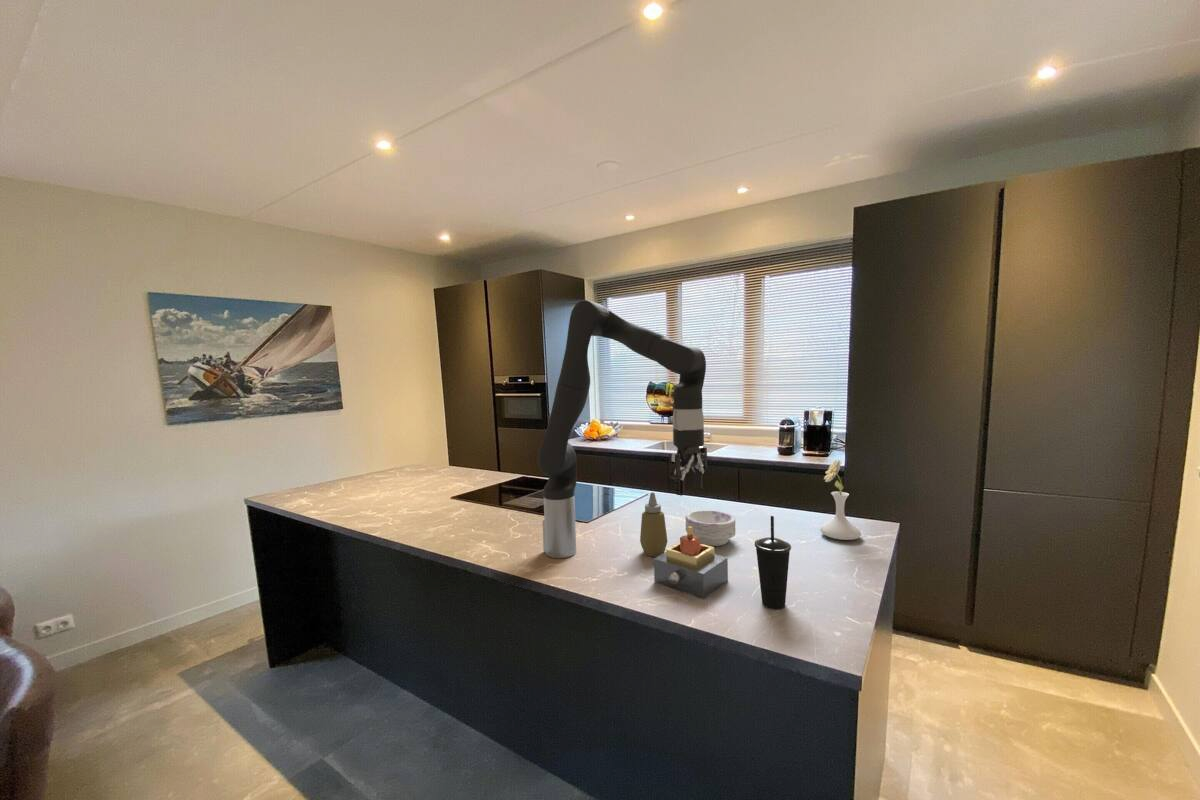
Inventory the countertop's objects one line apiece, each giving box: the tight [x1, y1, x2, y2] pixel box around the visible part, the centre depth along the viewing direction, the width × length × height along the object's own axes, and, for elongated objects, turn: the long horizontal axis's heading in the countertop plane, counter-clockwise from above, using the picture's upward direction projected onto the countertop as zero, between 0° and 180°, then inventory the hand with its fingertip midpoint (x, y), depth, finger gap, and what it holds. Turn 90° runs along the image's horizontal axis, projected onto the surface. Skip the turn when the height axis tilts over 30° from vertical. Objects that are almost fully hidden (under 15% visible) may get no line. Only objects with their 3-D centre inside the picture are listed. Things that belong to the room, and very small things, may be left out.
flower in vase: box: [819, 459, 862, 541], centre depth 138 cm, size 13×11×25 cm
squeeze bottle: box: [639, 492, 668, 557], centre depth 130 cm, size 8×8×18 cm
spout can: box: [679, 526, 701, 556], centre depth 111 cm, size 5×5×13 cm
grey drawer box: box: [653, 542, 729, 600], centre depth 111 cm, size 14×14×8 cm
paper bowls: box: [685, 509, 736, 547], centre depth 139 cm, size 15×15×8 cm
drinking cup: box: [754, 515, 792, 610], centre depth 99 cm, size 8×8×20 cm
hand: (689, 491), depth 111 cm, fingers open, 8 cm apart
